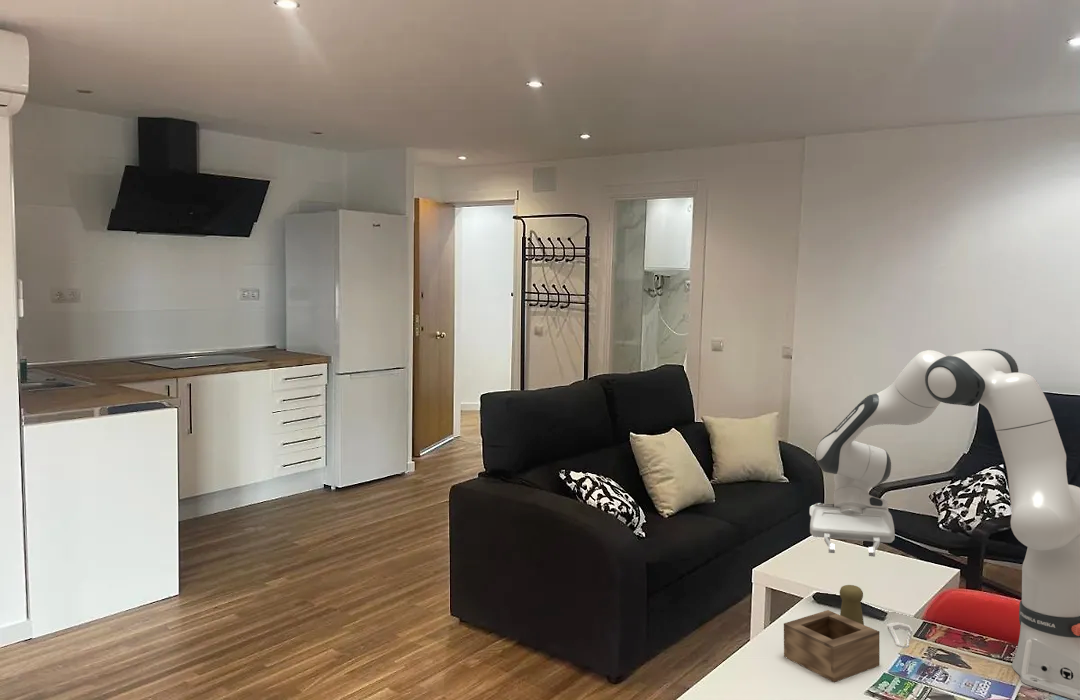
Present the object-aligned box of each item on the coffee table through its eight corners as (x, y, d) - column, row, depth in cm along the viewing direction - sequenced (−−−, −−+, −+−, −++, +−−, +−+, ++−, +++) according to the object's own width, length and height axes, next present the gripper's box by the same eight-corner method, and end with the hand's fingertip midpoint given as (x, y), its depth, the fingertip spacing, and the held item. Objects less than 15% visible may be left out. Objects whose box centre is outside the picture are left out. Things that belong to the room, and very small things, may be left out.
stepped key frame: (920, 653, 180) (921, 646, 180) (897, 652, 181) (897, 645, 181) (907, 626, 192) (907, 620, 192) (885, 625, 193) (885, 618, 193)
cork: (869, 636, 187) (869, 591, 186) (843, 637, 187) (843, 591, 186) (859, 626, 193) (859, 581, 192) (834, 626, 193) (834, 582, 192)
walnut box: (879, 665, 172) (879, 631, 172) (834, 682, 166) (833, 646, 165) (828, 641, 185) (828, 610, 184) (784, 656, 178) (783, 623, 177)
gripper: (809, 496, 210) (807, 544, 201) (893, 501, 202) (895, 551, 194) (810, 508, 214) (808, 555, 206) (893, 514, 206) (895, 563, 198)
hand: (851, 553), depth 200 cm, fingers open, 8 cm apart
